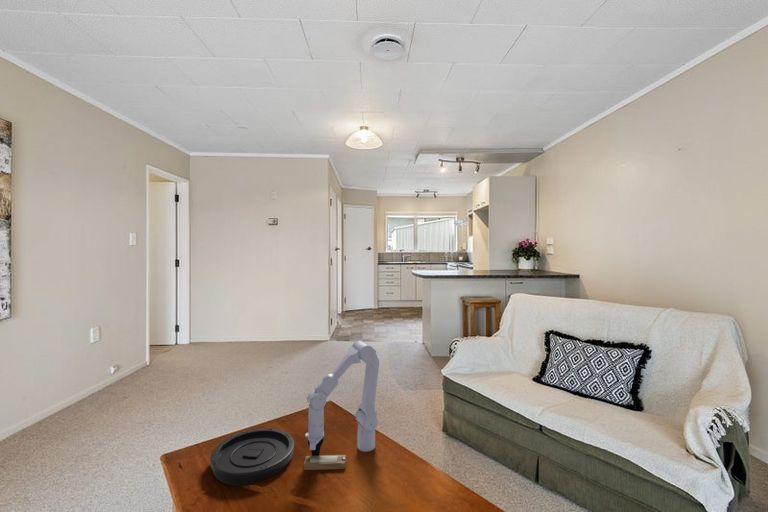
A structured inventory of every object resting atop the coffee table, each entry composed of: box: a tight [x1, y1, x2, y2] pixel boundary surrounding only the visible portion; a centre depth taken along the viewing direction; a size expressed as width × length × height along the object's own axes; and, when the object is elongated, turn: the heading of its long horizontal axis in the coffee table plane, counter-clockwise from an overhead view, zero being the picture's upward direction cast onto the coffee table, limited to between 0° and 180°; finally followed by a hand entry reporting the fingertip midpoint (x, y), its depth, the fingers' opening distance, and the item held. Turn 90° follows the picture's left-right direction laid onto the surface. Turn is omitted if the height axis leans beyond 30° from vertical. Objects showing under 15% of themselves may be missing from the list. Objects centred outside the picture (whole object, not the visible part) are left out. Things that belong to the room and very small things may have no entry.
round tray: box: [209, 428, 295, 487], centre depth 131 cm, size 30×6×30 cm
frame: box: [303, 454, 347, 471], centre depth 128 cm, size 5×15×3 cm, turn 93°
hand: (315, 457), depth 131 cm, fingers closed
